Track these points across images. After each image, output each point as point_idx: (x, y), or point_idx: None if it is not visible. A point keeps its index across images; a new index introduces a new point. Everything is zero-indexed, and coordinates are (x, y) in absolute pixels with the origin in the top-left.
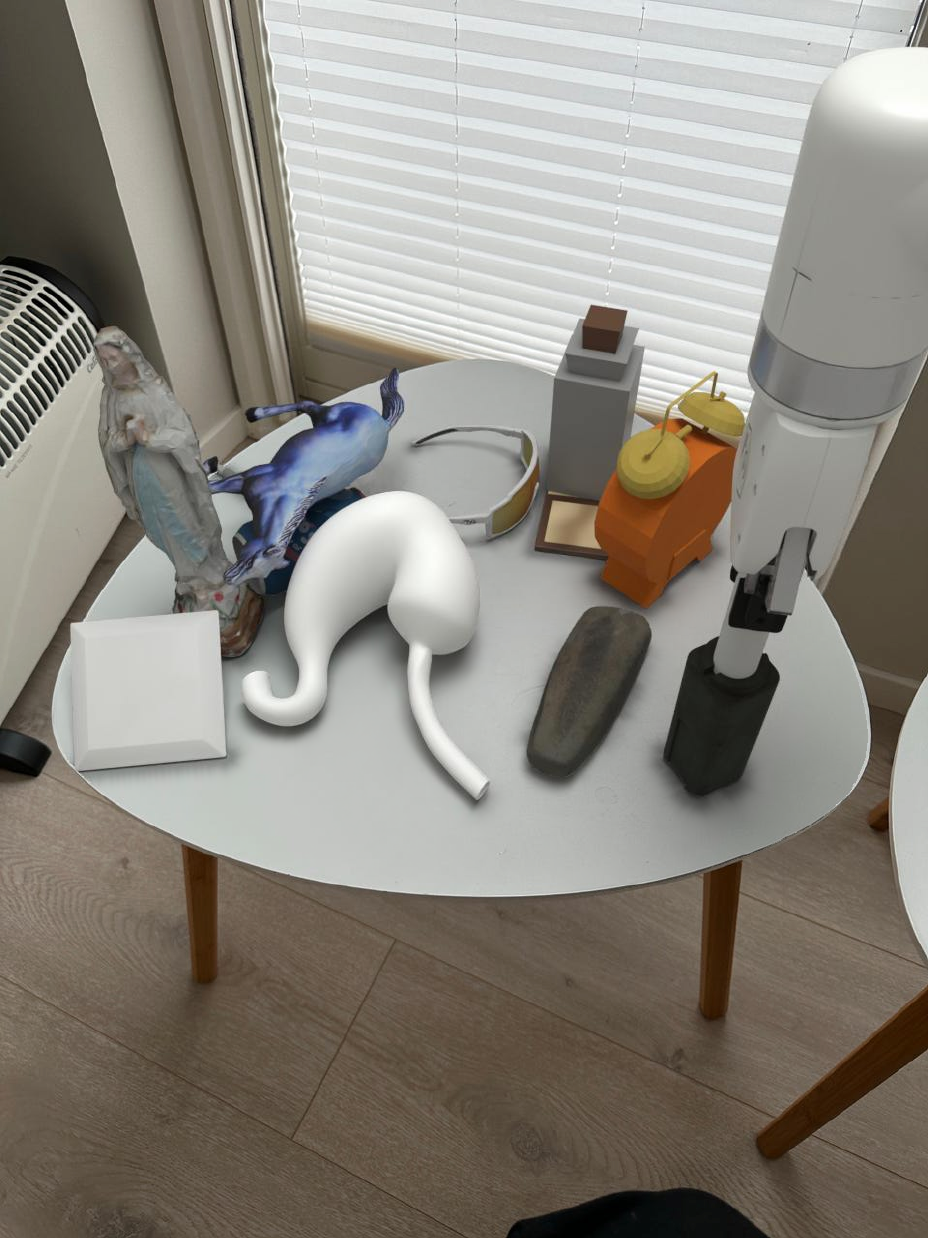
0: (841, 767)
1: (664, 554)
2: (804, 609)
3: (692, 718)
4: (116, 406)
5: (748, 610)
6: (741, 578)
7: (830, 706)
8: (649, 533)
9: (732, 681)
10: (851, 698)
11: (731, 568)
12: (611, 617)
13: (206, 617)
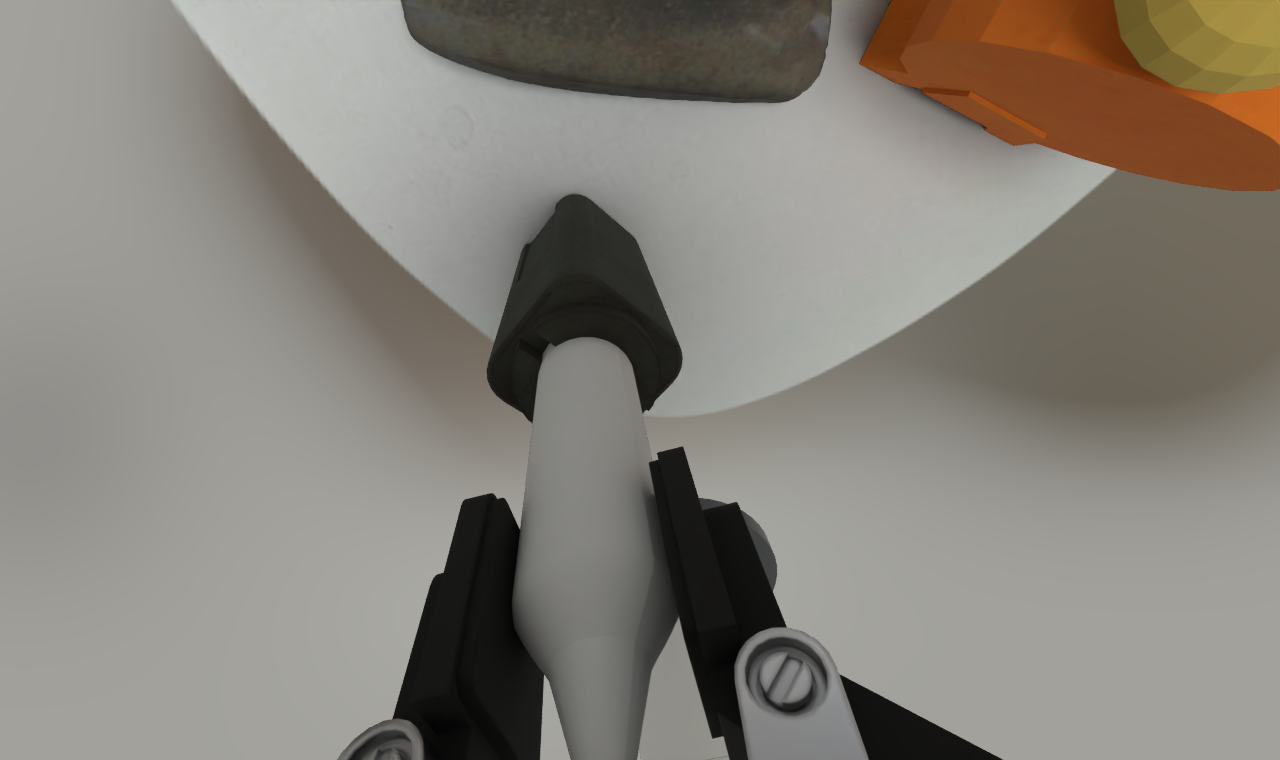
0: (655, 406)
1: (962, 75)
2: (899, 312)
3: (528, 277)
4: None
5: (421, 639)
6: (443, 699)
7: (741, 377)
8: (996, 27)
9: (530, 389)
10: (761, 395)
11: (676, 472)
12: (794, 3)
13: None
